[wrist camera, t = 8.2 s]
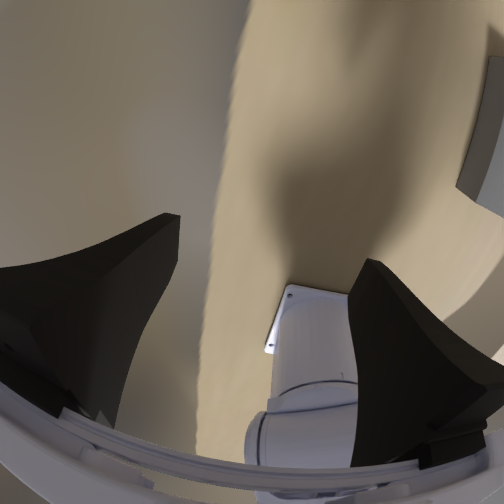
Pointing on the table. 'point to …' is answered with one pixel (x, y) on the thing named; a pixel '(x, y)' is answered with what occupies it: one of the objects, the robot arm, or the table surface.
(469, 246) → the table surface
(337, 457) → the robot arm
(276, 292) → the table surface
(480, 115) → the socket
